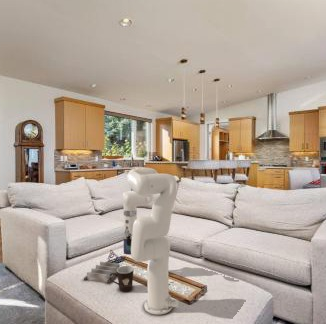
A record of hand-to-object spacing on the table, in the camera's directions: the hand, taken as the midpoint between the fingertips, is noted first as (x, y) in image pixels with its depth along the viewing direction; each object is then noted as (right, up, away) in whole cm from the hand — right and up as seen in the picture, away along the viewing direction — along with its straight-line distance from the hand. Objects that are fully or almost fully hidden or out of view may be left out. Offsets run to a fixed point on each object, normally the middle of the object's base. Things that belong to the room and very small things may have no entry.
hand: (130, 244), depth 148 cm
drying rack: (-15, -17, -2) cm, 23 cm away
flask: (0, -6, 0) cm, 6 cm away
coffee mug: (-3, -17, -17) cm, 25 cm away
